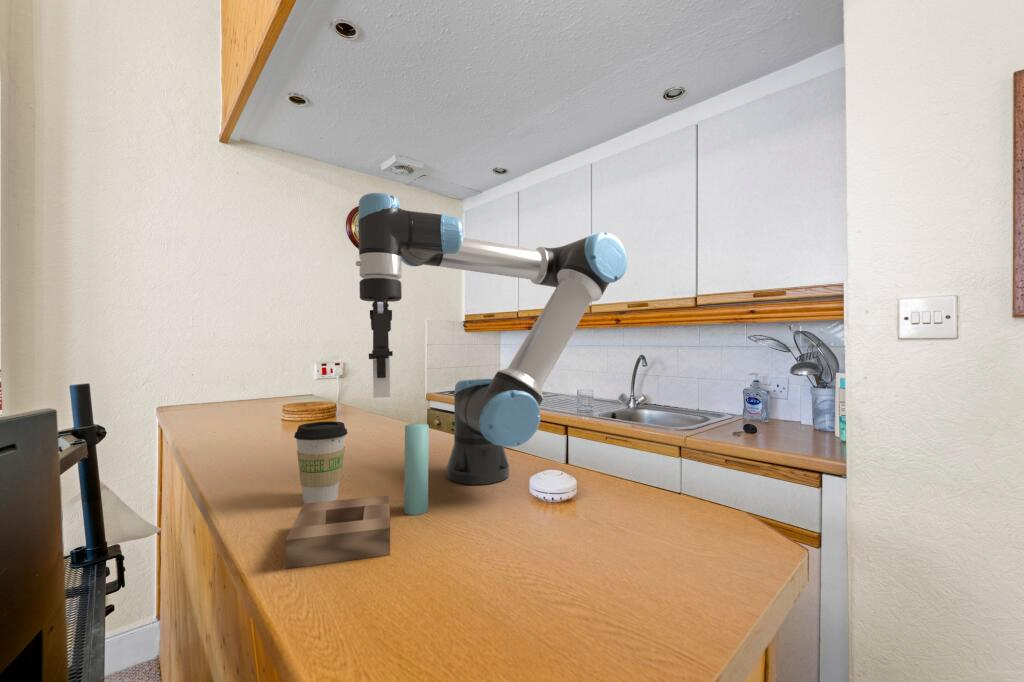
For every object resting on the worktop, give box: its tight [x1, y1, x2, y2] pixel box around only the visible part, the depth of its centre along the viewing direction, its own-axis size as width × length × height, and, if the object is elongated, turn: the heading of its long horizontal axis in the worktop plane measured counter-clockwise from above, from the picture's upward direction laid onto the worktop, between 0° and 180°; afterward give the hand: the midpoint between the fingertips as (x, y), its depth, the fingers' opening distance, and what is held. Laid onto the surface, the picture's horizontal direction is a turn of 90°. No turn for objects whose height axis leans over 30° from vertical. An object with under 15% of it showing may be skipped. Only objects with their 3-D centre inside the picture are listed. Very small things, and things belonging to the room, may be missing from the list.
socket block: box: [284, 495, 391, 570], centre depth 67 cm, size 14×14×4 cm
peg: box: [403, 423, 430, 516], centre depth 79 cm, size 4×4×16 cm
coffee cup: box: [293, 420, 348, 504], centre depth 84 cm, size 10×10×15 cm
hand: (382, 392), depth 78 cm, fingers open, 13 cm apart
